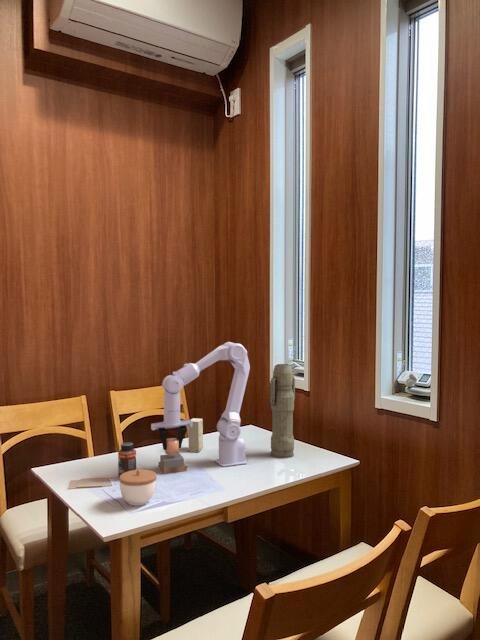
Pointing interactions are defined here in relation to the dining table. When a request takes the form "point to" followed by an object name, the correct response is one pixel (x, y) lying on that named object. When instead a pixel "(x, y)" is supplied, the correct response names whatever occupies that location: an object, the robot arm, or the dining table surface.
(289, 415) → the thermos
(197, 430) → the skincare box
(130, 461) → the supplement bottle
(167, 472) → the walnut slab
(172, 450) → the terracotta cylinder
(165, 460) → the grey flat block
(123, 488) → the lidded jar
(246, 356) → the robot arm
